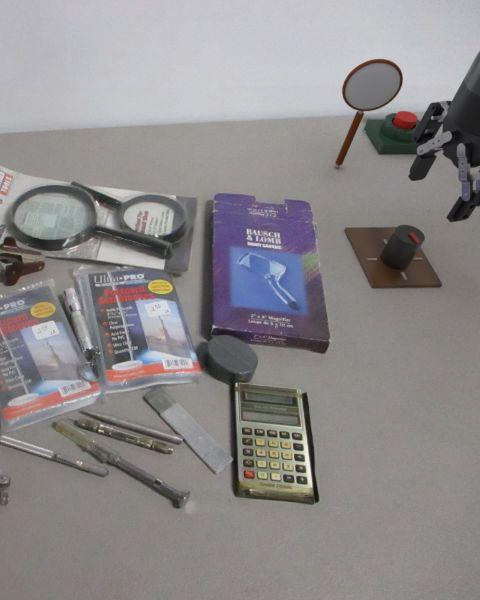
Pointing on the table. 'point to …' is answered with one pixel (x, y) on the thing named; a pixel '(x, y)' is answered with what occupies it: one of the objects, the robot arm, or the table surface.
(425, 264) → the panel
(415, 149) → the button box
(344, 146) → the magnifying glass
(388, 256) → the knob
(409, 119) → the button
